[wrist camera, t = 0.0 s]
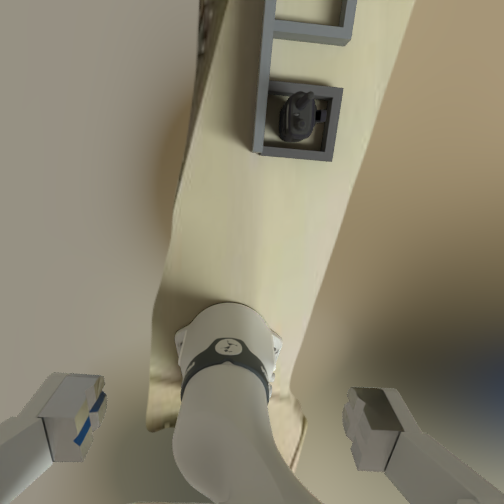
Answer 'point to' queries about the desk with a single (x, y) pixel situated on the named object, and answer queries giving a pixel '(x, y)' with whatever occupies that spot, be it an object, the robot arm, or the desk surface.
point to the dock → (295, 33)
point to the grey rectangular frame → (329, 128)
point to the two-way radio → (299, 117)
